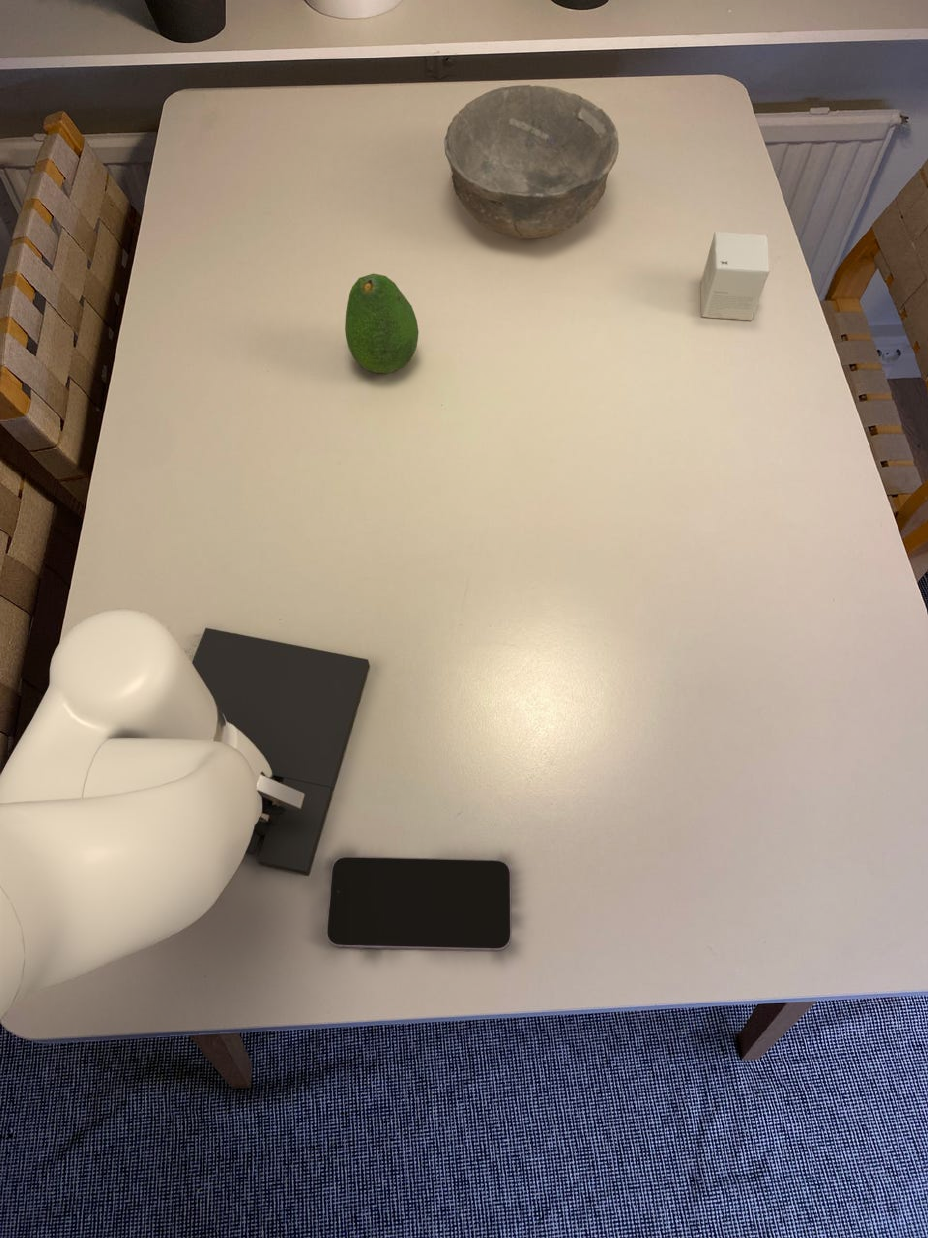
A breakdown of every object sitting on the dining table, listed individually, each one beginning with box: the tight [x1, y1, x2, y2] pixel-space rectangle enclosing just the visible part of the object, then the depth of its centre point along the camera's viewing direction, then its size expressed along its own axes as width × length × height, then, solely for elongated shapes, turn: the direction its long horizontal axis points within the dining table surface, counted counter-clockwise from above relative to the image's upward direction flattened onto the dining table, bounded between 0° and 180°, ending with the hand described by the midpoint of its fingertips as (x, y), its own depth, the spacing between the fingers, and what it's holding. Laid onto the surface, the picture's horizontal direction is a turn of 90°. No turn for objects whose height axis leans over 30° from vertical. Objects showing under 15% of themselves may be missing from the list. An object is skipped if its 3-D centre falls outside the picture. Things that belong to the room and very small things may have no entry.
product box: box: [699, 231, 771, 321], centre depth 106 cm, size 6×6×7 cm
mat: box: [191, 627, 371, 876], centre depth 82 cm, size 20×16×2 cm
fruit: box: [344, 272, 419, 374], centre depth 99 cm, size 8×8×12 cm
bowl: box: [443, 84, 620, 239], centre depth 112 cm, size 21×21×10 cm
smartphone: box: [325, 855, 512, 952], centre depth 76 cm, size 7×1×15 cm
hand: (228, 808), depth 79 cm, fingers closed on pad piece, 6 cm apart
